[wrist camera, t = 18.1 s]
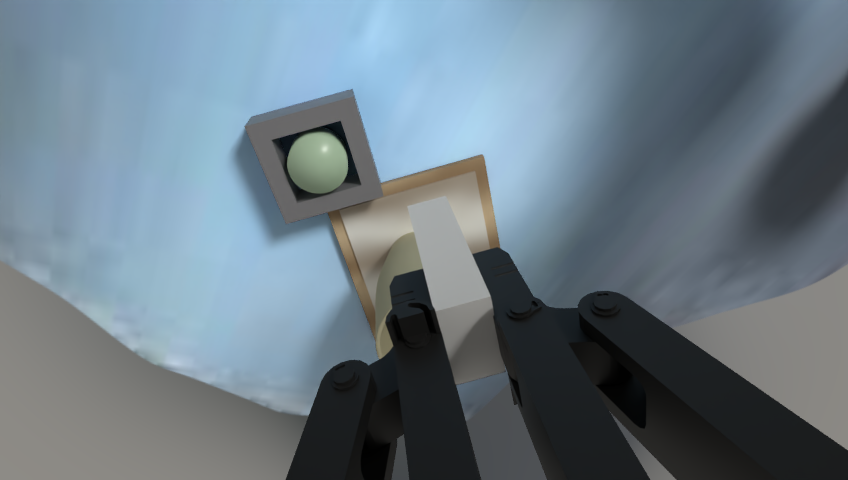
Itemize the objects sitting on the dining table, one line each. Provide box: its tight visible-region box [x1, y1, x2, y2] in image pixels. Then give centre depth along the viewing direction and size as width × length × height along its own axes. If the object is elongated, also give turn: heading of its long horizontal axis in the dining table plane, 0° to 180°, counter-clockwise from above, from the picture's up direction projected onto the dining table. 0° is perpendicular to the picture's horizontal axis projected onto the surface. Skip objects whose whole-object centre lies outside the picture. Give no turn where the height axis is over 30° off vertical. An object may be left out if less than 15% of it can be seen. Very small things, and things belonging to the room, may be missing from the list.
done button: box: [287, 127, 348, 194], centre depth 36 cm, size 4×4×3 cm
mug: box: [375, 232, 423, 359], centre depth 38 cm, size 11×10×12 cm
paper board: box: [328, 155, 500, 341], centre depth 44 cm, size 16×14×1 cm
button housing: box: [245, 89, 384, 224], centre depth 37 cm, size 8×8×3 cm
